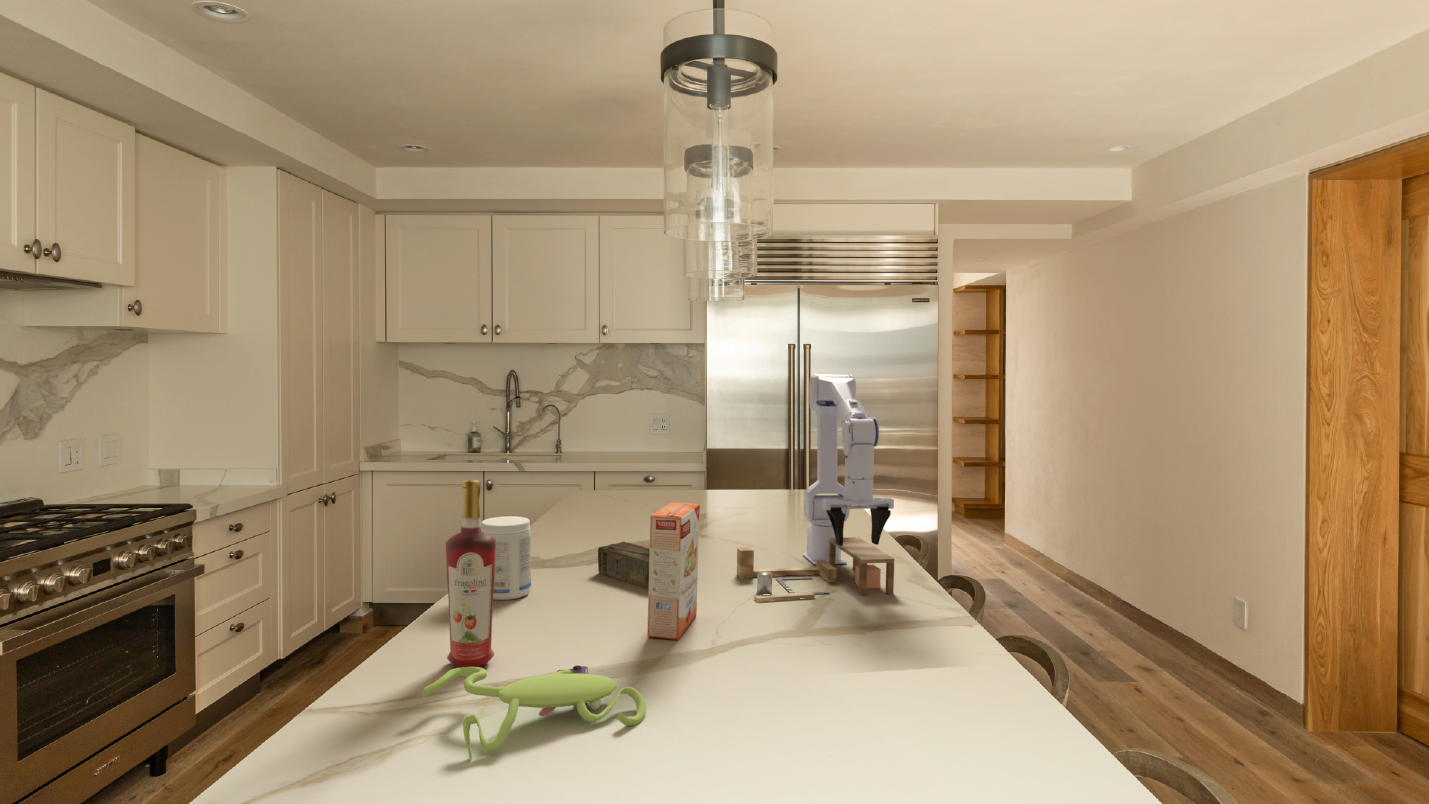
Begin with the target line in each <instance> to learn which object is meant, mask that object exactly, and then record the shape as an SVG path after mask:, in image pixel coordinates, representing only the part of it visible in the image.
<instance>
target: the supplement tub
mask: <svg viewBox="0 0 1429 804" xmlns="http://www.w3.org/2000/svg"><path fill="white" fill-rule="evenodd" d="M530 524H531V522H530V519H529V518H527V517H525V516H515V515H513V516H509V515H507V516H497V517H496V516H495V517H489V518H486V519H484V520H481V531H482V532H484V533H487V534H489V535H491V536H492V537H493V538H494V539H496V554H495V577H494V591H493V601H494V600H495V601H496V600H497V601H500V600H501V601H507V600H509V601H510V600H517V599H520V598H522V597H526V596H527V595H529V593H530V592H531V591H532V549H531V548H532V541H531V540H532V536H531V532H532V531H531V525H530Z"/></svg>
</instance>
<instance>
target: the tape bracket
mask: <svg viewBox="0 0 1429 804" xmlns="http://www.w3.org/2000/svg"><path fill="white" fill-rule="evenodd" d="M797 579H798V580H800V579H801V580H814V579H813V577H812V576H806V577H805V576H803V577H802V576H800V577H797V576H795V577H776V578H775V580H776V581H777V582H778V583H779V584H780V585H781V586H782V585H784V587H783V588H784V589H785V588H791V587H790V586H789V585H788V584H787V583H786V582H785V581H793V580H794V581H796V580H797ZM786 585H788V586H786ZM786 591H787V592H788V591H794V590H793V589H792V588H791V589H787V590H786ZM811 592H812V593H814V594H815V595H828V594H827V593H830V592H829V591H811ZM790 593H796V592H795V591H794V592H790ZM790 593H789V594H790ZM801 593H806V592H805V591H804V592H801ZM824 593H825V594H824Z"/></svg>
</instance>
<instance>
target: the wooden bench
mask: <svg viewBox="0 0 1429 804" xmlns="http://www.w3.org/2000/svg"><path fill="white" fill-rule="evenodd" d="M836 547H838V548H839V549H841V552H843V553H845V554H846V555H849V557H851V558H852V569H853V571H855V566H856V565H859V586H858V594H859V593H860V594H866V595H867V589H868V588H867V565H868V564H886V565H885V593H886V594H888V595H894V587H895V584H894V581H895V580H894V579H895V558H894V557H892V556H890V555H889V554H888V553H886V552H884V551H883V550H881V549H880V548H877V547H876V546H874V545H872V544H871V543H869V542H867V541H866V540H864V539H862V538H861V537H859V536H858V537H853V536H852V537H843V546H839V545H837V544H836V539H835V538H829V564H830V565H832V566H833V567H834V568H836V564H835V560H836ZM860 594H859V595H860Z"/></svg>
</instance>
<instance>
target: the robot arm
mask: <svg viewBox="0 0 1429 804" xmlns="http://www.w3.org/2000/svg"><path fill="white" fill-rule="evenodd" d="M856 383H857V382H856V379H855V377H854V376H853V375H852V374H851V373H850V374H817V373H813V374H812V375H811V377H810V378H809V384H808V404H809V409H810V410H813V411H814V412H815V413H816V420H817V422H816V424H817V426H816V427H817V428H816V429H817V431H816V432H817V433H816V434H817V435H816V438H817V442H816V443H817V444H816V446H817V447H816V448H817V449H816V450H817V452H816V453H817V455H816V456H817V458H816V462H817V464H816V465H817V468H816V469H817V471H816V472H817V474H816V476H817V478H816V479H817V480H816V481H814V483H812V484H811V485H809V486H808V487H807V489H806V491H805V493H804V494H805V495H804V496H805V497H804V502H803V503H804V504H803V512H804V518H805V519H806V521H807V522H809V524H808V527H807V530H806V552H804V553H803V552H802V556H803V557H804V558H806V559H807V560H808V561H809V562H810V563H812V564H813V565H816V566H817V560H825V561H827V562H828V563H829V538H835V539H836V544H837V545H839V546H843V538H844V526H845V523H846V521H847V520H848V519H849V518H850V511H851V510H852V509H853V510H859V509H860V510H862V509H863V510H865V509H866V510H867V509H869V510H870V517H871V534H870V537H871V539H870V540H871V543H872V544H874V545H875V546H876V545H879V543H880V539H881V535H882V533H883V530H884V528H885V526H886V524H887V521H888V520H889V518H890V516H891V514H892V513H891V510H892V509H893V510H894V508H895V504H894V503H895V499H894V498H892V497H874V469H875V468H874V467H875V448H876V447H877V446H878V444H879V440H880V427H879V426H880V425H879V423H878V420H877V418H876V417H869V416H868V414H867V413H866V411H865V409H864V407H863V405H862V404H861V402H860V401H858V400H857V399H855V397H856V392H857V384H856ZM838 421H839V424H840V426H841V428H842V431H841V435H842V437H841V438H842V444H843V448H842V449H843V454H844V455H845V456H844V457H845V460H844V461H845V463H844V486H843V485H842V484H841V483H839V482H838ZM819 494H820V495H819ZM821 494H823V495H821ZM830 494H831V495H830ZM835 494H836V495H835ZM890 509H891V510H890ZM837 564H838V565H839V564H841V565H842V564H845V565H846V564H848V561H847V560H846V559H844V558H843V557H842V550H841V549H839V548H838V547H836V560H835V565H837Z"/></svg>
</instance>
